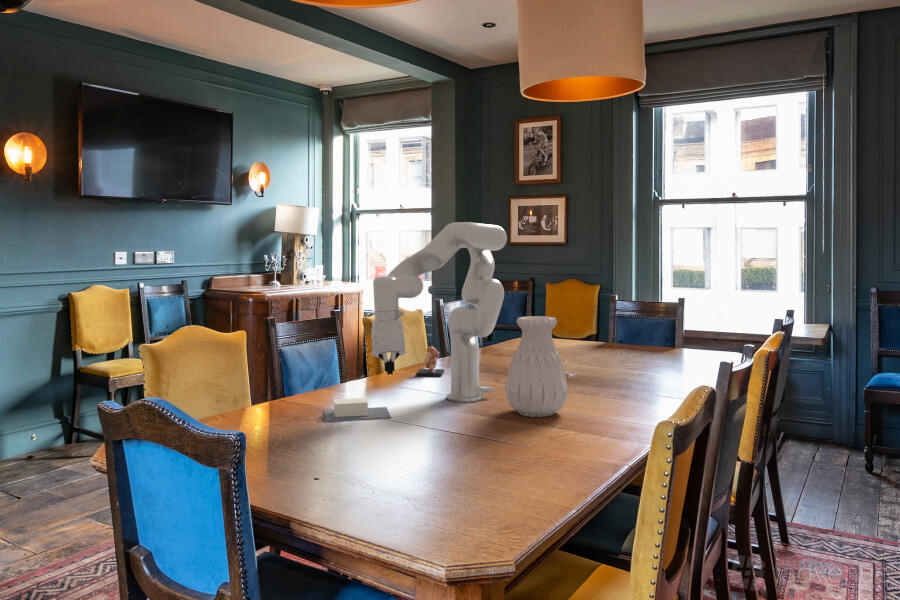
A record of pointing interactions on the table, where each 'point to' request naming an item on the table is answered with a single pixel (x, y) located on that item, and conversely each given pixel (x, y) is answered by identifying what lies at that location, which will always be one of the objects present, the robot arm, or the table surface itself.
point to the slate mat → (372, 414)
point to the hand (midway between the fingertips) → (389, 373)
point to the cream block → (350, 407)
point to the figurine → (430, 365)
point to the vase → (536, 370)
